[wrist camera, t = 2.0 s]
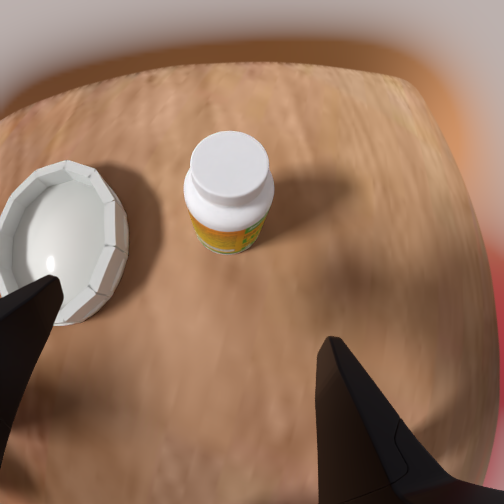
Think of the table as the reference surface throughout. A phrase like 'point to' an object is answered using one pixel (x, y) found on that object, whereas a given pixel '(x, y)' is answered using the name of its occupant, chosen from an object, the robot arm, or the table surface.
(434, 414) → the table surface
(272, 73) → the table surface
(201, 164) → the supplement bottle
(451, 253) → the table surface
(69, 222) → the dish
